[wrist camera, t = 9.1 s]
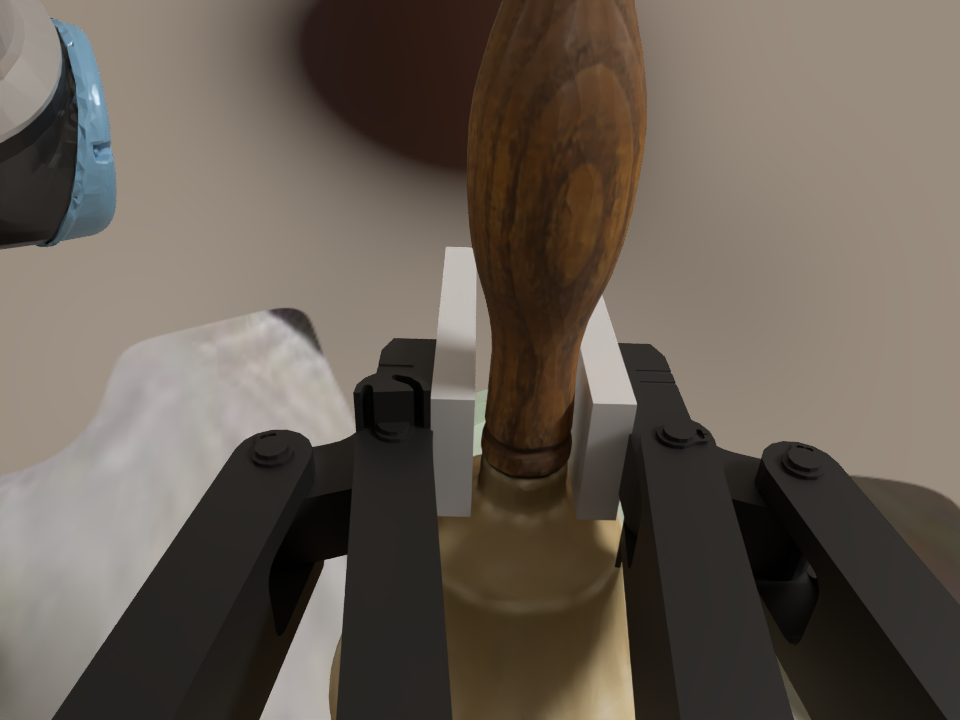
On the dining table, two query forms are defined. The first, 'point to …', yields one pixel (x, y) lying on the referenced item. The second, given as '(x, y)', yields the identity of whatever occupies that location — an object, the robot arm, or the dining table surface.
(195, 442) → the dining table surface
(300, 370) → the dining table surface
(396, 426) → the robot arm
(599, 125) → the hand bell
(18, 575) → the dining table surface
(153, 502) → the dining table surface
